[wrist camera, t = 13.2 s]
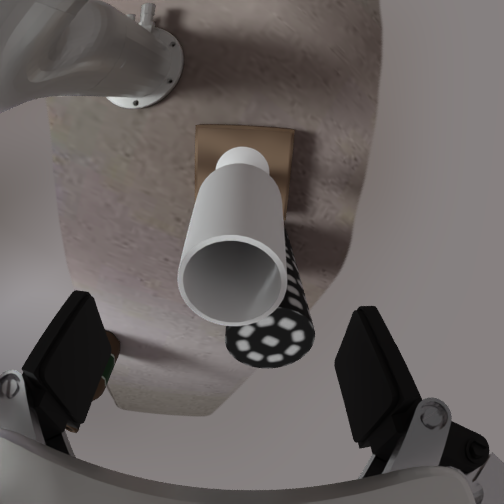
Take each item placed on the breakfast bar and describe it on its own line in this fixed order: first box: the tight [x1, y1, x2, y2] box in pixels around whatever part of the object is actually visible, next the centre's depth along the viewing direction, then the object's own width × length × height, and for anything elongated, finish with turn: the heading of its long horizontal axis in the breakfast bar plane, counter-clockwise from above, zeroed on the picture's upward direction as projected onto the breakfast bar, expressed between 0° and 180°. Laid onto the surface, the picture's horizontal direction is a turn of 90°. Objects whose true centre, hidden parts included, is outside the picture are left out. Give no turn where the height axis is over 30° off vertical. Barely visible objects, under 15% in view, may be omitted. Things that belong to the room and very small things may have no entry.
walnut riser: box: [195, 124, 295, 220], centre depth 35 cm, size 12×12×4 cm
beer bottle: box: [65, 331, 120, 433], centre depth 42 cm, size 8×8×24 cm
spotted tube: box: [225, 229, 315, 368], centre depth 33 cm, size 8×8×20 cm
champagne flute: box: [177, 147, 287, 326], centre depth 22 cm, size 7×7×24 cm
